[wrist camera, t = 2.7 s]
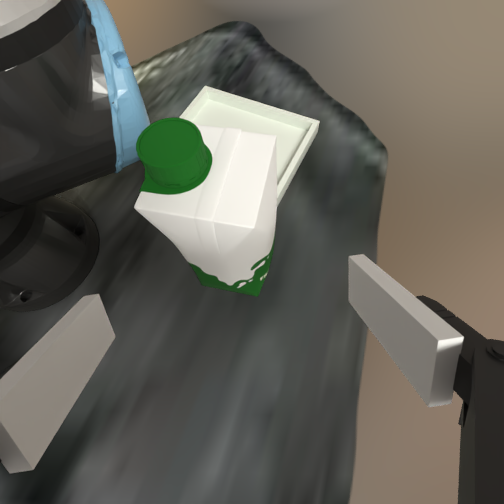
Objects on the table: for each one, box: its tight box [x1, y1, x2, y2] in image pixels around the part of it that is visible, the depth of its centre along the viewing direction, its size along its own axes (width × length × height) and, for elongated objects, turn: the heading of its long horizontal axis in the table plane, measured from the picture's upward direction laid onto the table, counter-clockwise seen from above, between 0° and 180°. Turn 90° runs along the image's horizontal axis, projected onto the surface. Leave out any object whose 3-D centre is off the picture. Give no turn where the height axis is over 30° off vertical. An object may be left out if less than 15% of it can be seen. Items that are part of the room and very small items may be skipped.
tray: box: [179, 86, 320, 206], centre depth 41 cm, size 20×16×2 cm
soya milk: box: [134, 118, 277, 297], centre depth 25 cm, size 9×9×20 cm
